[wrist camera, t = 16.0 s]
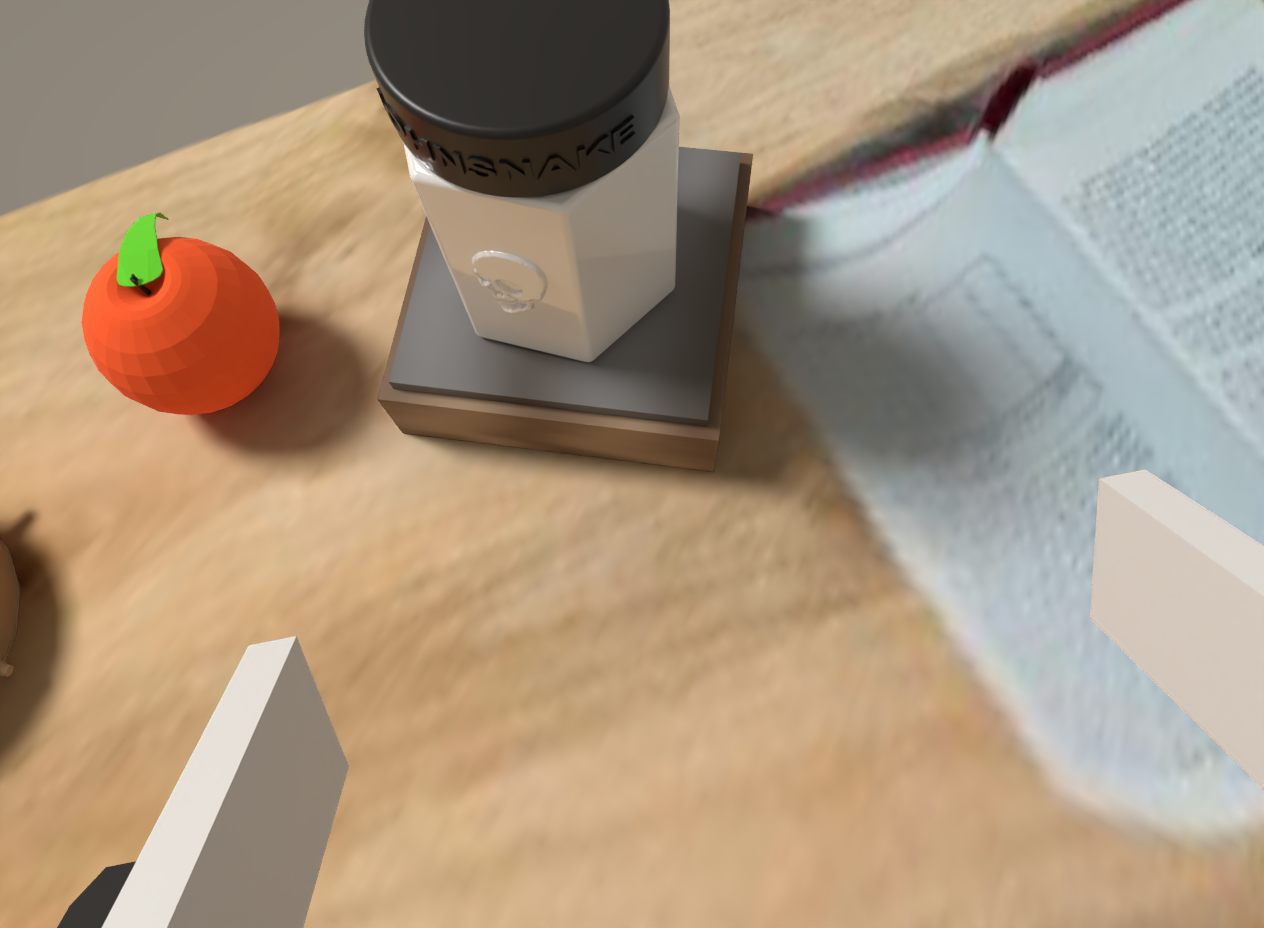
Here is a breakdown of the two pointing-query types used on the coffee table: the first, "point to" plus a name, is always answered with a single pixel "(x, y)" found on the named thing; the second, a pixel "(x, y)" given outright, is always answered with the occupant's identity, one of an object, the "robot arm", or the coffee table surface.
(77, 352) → the coffee table surface
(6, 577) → the alarm clock
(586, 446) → the stand
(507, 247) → the jar
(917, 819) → the coffee table surface
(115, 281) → the clementine
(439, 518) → the coffee table surface
